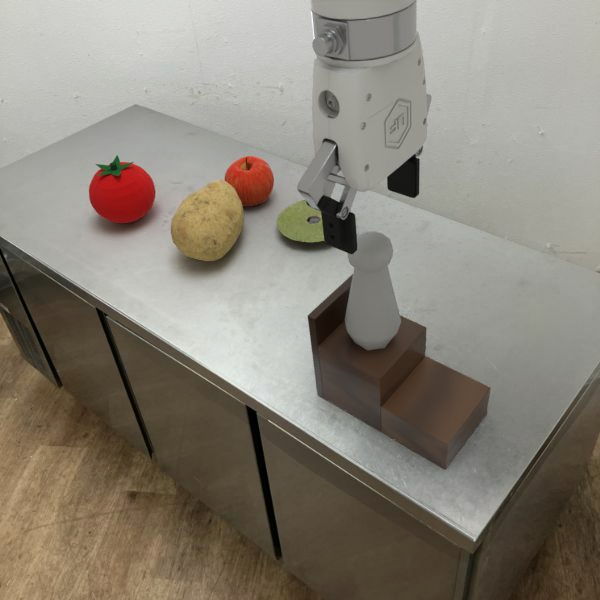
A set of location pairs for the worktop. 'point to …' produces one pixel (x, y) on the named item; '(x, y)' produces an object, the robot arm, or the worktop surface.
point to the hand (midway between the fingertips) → (373, 219)
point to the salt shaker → (372, 293)
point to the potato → (208, 222)
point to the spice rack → (395, 383)
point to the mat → (301, 223)
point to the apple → (250, 180)
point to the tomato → (121, 191)
